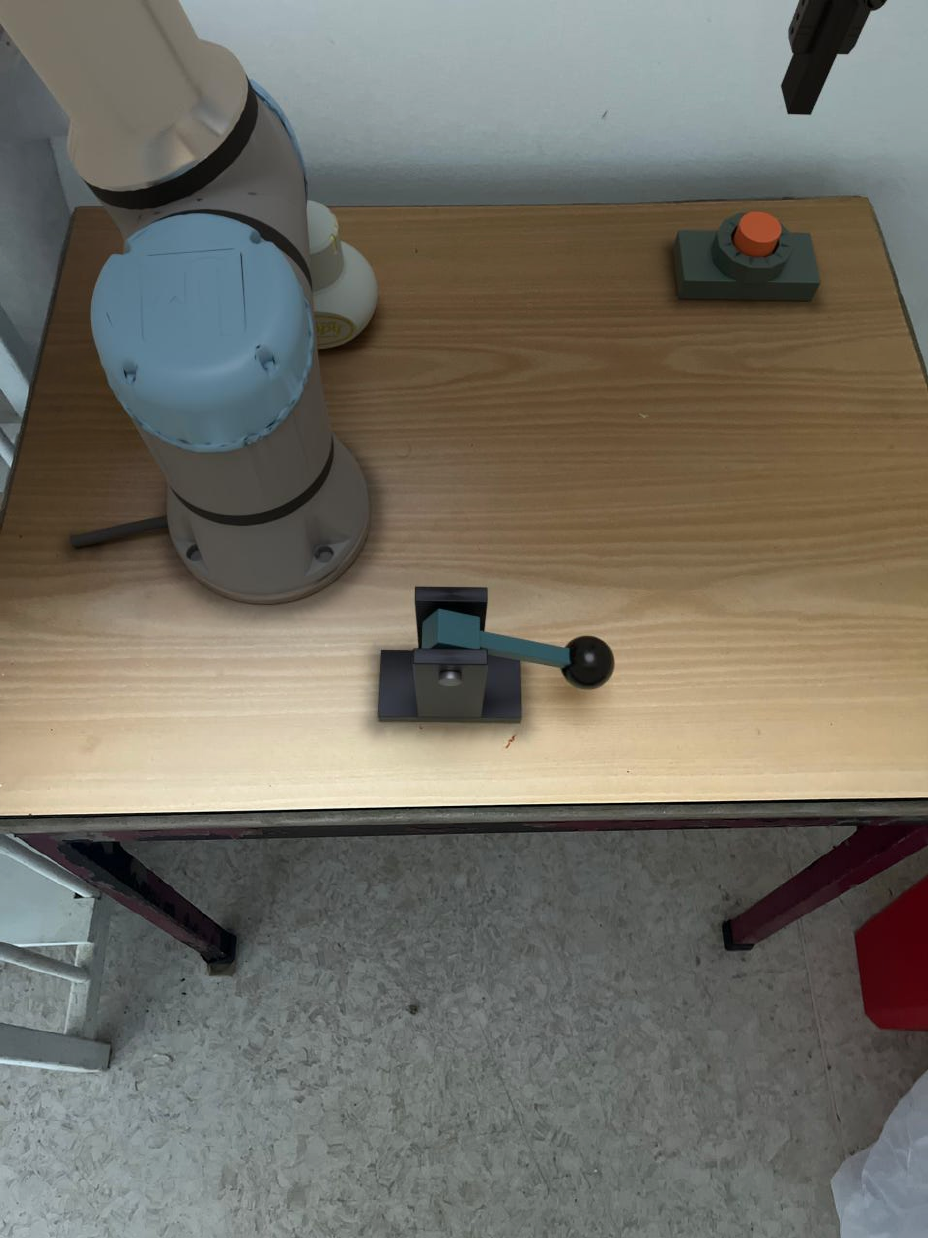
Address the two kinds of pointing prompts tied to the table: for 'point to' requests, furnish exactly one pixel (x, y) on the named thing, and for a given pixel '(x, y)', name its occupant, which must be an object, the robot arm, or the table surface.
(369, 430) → the table surface
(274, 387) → the robot arm
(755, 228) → the button
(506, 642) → the switch lever
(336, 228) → the air freshener
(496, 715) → the switch bracket
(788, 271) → the button box
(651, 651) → the table surface
